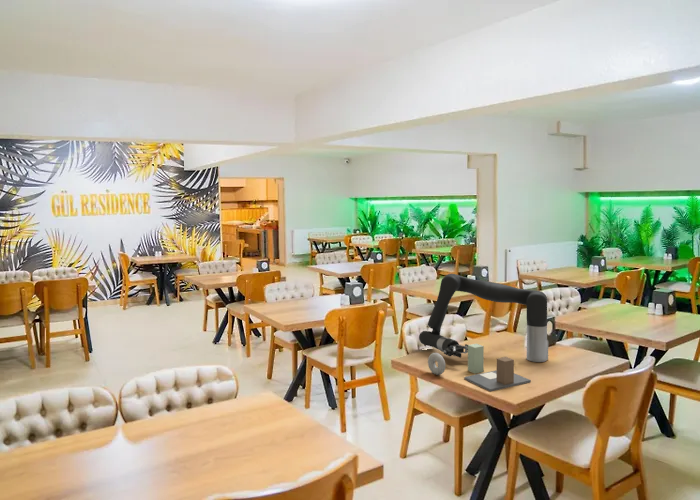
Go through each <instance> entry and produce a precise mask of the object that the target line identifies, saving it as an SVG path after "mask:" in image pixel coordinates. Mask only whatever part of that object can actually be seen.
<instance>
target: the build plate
mask: <svg viewBox="0 0 700 500" xmlns="http://www.w3.org/2000/svg"><path fill="white" fill-rule="evenodd" d="M463 378H464V379H463V380H465V381H468V382H470V383H472V384H474V385H476V386H477V387H480V388H482V389H484V390H486V391H488V392H494V391H499V390H503V389H508V388H511V387H517V386H521V385H525V384H530V383H531V382H532V381H531V379H530V378H527V377H524V376H521V375H519V374H517V373H515V360H514V358H510V357H508V356H502V357H498V358H496V370H490V371H486V372H481V373H476V374H472V375H468V376H463Z"/></svg>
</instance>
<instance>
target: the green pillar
mask: <svg viewBox="0 0 700 500" xmlns="http://www.w3.org/2000/svg"><path fill="white" fill-rule="evenodd" d="M467 345H468V350H467V351H468V353H467V371H468V372H470V373H472V374H473V375H476V374H481V373H485V371H484V369H485V368H484V367H485V366H484V364H485V363H484V360H485V359H484V357H485V356H484V354H485V353H484V349H485V347H484V345H481V344H480V343H472V344H467Z"/></svg>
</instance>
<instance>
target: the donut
mask: <svg viewBox="0 0 700 500" xmlns="http://www.w3.org/2000/svg"><path fill="white" fill-rule="evenodd" d="M436 362H437V365H436ZM427 366H428V369H429V370H430V372H431V373H432V374H433V375H435V374H436V375H437V376H440V375H443V373H444V372H445V370H446V360H445V359H444V357H443V355H441V353H439V352H432V353H431V354H430V355H429V356H428V359H427Z"/></svg>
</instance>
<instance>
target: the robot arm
mask: <svg viewBox="0 0 700 500" xmlns="http://www.w3.org/2000/svg"><path fill="white" fill-rule="evenodd" d="M440 281H441V282H440V286H439V291H438V295H437V299H436V302H435V303H434V307H433V309H432V311H431V313H430V314H431V315H430V317H429V319H428V322H427V326H428V327H429V328H430V329H431V331H429V330H423V331H421V332H420V333H419V335H418V340H419V342H420V343H421V345H424V346H429V347H432V348H435V349H437V350H438V351H440V352H442V353H443V354H444V355H446V356H447V357H452V356H453V357H457V358H462V354H465V355H466V354H468V345H469V344H467V343H465V344H464V345H462V344H459V342H458V341H457V340H455V339H453V338H450V337H447V336H443V335H441V329H442V325H443V323H444V320H445V318H446V315H447V310H448V306H449V303H450V301H451V299H452V297H454V295H455V293H456V292H461V293H468V294H471V295H473V296H476V297H478V298H480V299H483V300H486V301H491V302H493V303H494V302H495V303H505V304H506V303H507V304H508V303H509V304H510V303H511V304H513V303H514V304H520V305H523V306H526V360H527V361H529V362H533V363H544V362H547V360H549V339H548V296H547V295H546V294H545V293H544V292H543V291H541V290H535V289H525V288H523V289H522V288H519V287H515V286H510V285H506V284H503V283H499V282H495V281H494V282H493V281H489V280H480V279H474V278H469V277H465V276H462V275H459V274H456V273H448V274H446V275H445V276H443V277H442V279H441V280H440Z"/></svg>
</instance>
